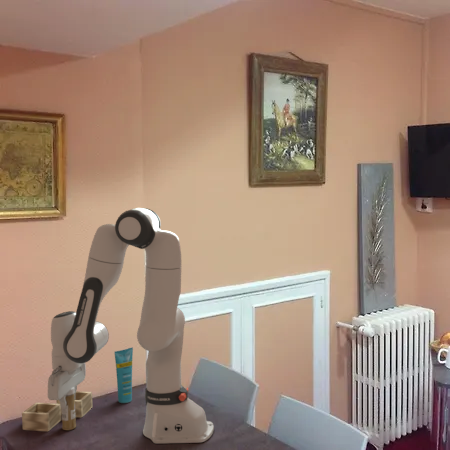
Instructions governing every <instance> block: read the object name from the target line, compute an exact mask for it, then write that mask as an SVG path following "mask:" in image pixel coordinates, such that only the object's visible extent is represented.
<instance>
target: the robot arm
mask: <svg viewBox="0 0 450 450" xmlns="http://www.w3.org/2000/svg"><path fill="white" fill-rule="evenodd" d="M161 226H162V225H161V219H160V217H159V215H158V214H157V213H156V212H155V211H154V210H152V209H150V208H145V207H136V208H132V209H129V210H126V211H124V212H122V213H121V214H120V215H119V216H118V217H117V219H116V221H115V224H113V223H106V224H102V225H99V227H98V228H97V229H96V231H95V234H94V235H93V238H92V241H91V244H90V248H89V253H88V259H87V262H86V263H87V264H86V268H85V269H86V270H85V275H84V280H83V283H82V289H81V292H80V297H79V301H78V305H77V309H76V311H73V310H71V311H65V312H62V313H58V314H56V315H54V317H52V319H51V323H50V343H51V345H52V349H51V366H52V367H51V368H52V371H51V374H50V375H49V377H48V379H47V398H48V400H49V401H56V400H59V401H60V407H61V408H65V407H66V406H67V405H68V404H67V401H66V399H65V397H66V394H67V393H68V392H70V391H71V389H72V388H73V387H75V394H76V391H77V387H78V385H80V384H82V382H83V381H85V378H86V370H87V369H86V363H88V362H90V361H91V359H93V357H94V356H95V355H96V354H97V353H99V351H101V349H103V348H104V347H105V346H106V345H107V343H108V342H109V338H110V336H109V335H110V334H109V330H108V329H107V327H106V324H104V323H102V322H100V321H97V318H98V314H99V310H100V306H101V305H102V302H103V300H104V299H105V298H106V295H107V294H108V293H109V292H110V291H111V290H112V289H113V287H114V286H115V285H117V283H118V282H119V279H120V276H121V274H122V271H123V268H124V267H123V266H124V263H125V257H126V252H127V250H128V248H129V246H133V247H135V248H138V249H140V250H144V251H145V284H144V285H145V289H144V297H143V301H142V306H141V307H142V308H141V313H140V320H139V326H138V329H137V332H136V333H137V334H136V338H137V341H138V344H139V345H140V347H142V348H143V349H144V350H145V351H148V353H147V358H146V361H145V379H146V380H145V381H146V384H145V385H146V386H145V391H144V400H145V406H146V410H145V418H144V419H145V420H144V426H143V430H142V434H143V436H145V437H146V438H148V439H149V440H151V442H153V444H189V443H190V444H192V443H197V444H198V443H203V442H206V441H207V440H209V439H210V438H211V437H212V435H213V434H214V430H215V427H214V423H213V422H212V421H209V420H207V416H206V412H205V410H204V408H203V407H202V406H200V405H199V404H197V403H196V402H195V401H193V400H192V399H190V397H189V393H188V392H189V387H186V388H185V387H184V386H183V385H182V355H183V354H182V353H183V346H184V333H185V329H184V328H185V324H186V317H185V315H184V312H183V311H182V310H181V308H179V307H178V305H179V300H180V299H179V298H180V296H181V290H182V289H181V288H182V251H181V249H182V248H181V242H180V238H179V236H178V235H177V234H176V233H174V232H172V231H169V230H162V229H161ZM75 394H74V399H75Z"/></svg>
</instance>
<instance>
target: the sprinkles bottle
mask: <svg viewBox="0 0 450 450" xmlns="http://www.w3.org/2000/svg"><path fill="white" fill-rule="evenodd" d="M74 394H75V387H73V388H72V389H71V391H70V392H68V393H67V394H66V397H65V399H66V401H67V404H68V405H67V406H66V407H65V408H61V412H62V416H61V423H62V427H61V428H62V430H63V431H71V430H72V431H73V430H75V429H76V427H77V423H76V422H77V421H76V419H77V417H76V414H75V399H74Z"/></svg>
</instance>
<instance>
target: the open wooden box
mask: <svg viewBox="0 0 450 450" xmlns="http://www.w3.org/2000/svg"><path fill="white" fill-rule="evenodd" d="M55 401H56V404H60V401H59V400H55ZM91 408H92V409H93V391H81V390H80V391H77V390H76V394H75V414H76V417H75V418H81V419H82V418H83V417H85V415H86V414H87V413H89V412H90V410H92V409H91ZM61 417H62V412H61Z"/></svg>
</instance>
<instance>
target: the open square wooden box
mask: <svg viewBox="0 0 450 450" xmlns="http://www.w3.org/2000/svg"><path fill="white" fill-rule="evenodd" d="M21 419H22V420H21V421H22V425H21V426H22V430H23V431H37V432H49V431H50V430H52V429H53V428H54V427H55V426H57V425H58V424H59V423H60V422H62V416H61V407H60V404H57V403H50V402H34V403H33V404H32V405H31V406H29V407H28V408H27V409H26V410H24V411H22V412H21Z"/></svg>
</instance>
